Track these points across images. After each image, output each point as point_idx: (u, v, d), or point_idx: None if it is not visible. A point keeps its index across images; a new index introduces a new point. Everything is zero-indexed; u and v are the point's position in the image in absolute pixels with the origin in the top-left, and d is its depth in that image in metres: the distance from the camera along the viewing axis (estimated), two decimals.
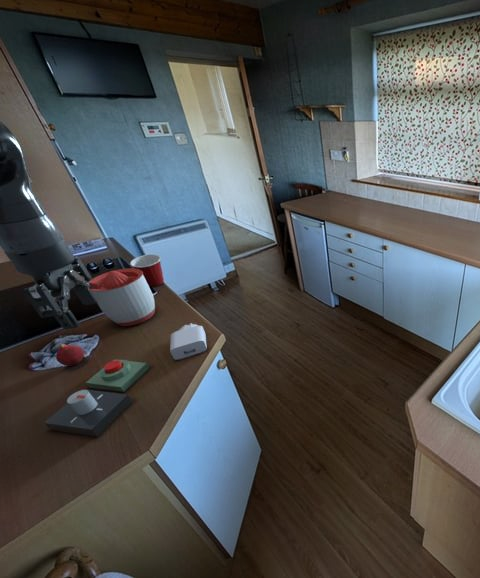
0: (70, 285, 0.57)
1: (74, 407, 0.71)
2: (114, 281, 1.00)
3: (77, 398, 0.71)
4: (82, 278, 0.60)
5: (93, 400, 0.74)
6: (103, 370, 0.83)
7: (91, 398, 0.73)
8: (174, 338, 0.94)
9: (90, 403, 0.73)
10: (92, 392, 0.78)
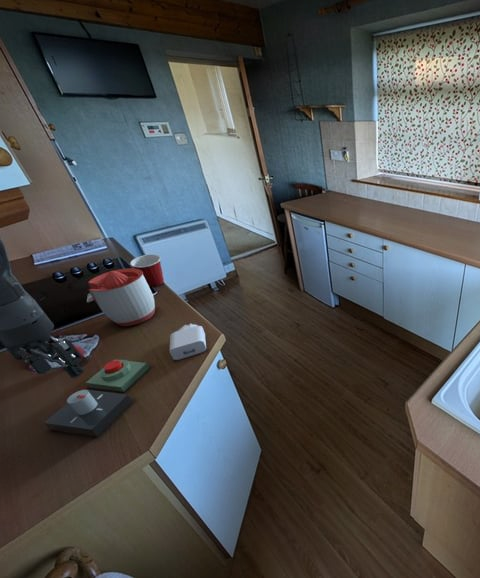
0: None
1: (74, 407, 0.71)
2: (114, 281, 1.00)
3: (77, 398, 0.71)
4: None
5: (93, 400, 0.74)
6: (103, 370, 0.83)
7: (91, 398, 0.73)
8: (173, 338, 0.94)
9: (90, 403, 0.73)
10: (92, 392, 0.78)
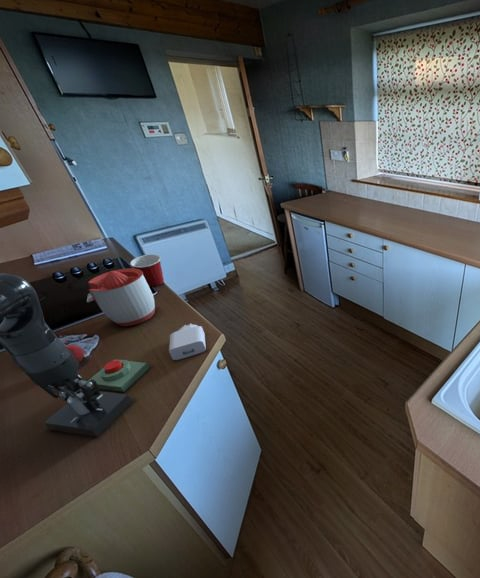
0: None
1: (74, 407, 0.71)
2: (114, 281, 1.00)
3: None
4: None
5: None
6: (103, 370, 0.83)
7: None
8: (173, 338, 0.94)
9: None
10: None
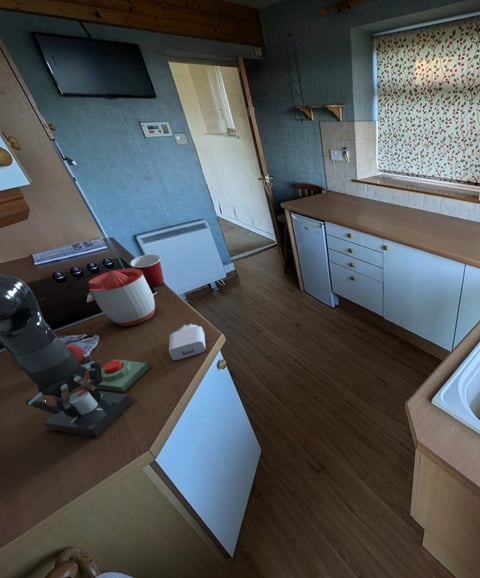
0: None
1: (88, 401, 0.72)
2: (114, 281, 1.00)
3: (81, 395, 0.72)
4: None
5: None
6: (103, 370, 0.83)
7: None
8: (173, 338, 0.94)
9: None
10: None
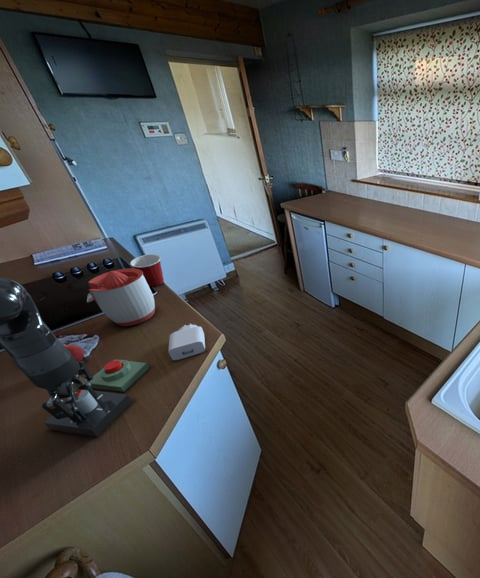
0: None
1: (91, 396, 0.73)
2: (114, 281, 1.00)
3: (81, 394, 0.72)
4: None
5: None
6: (103, 370, 0.83)
7: None
8: (172, 338, 0.94)
9: None
10: None
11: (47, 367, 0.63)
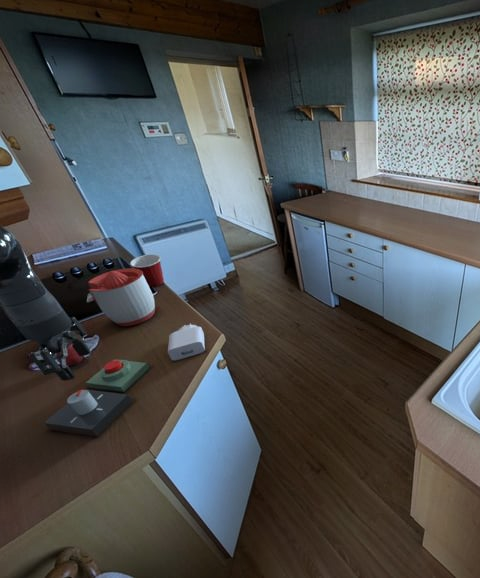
0: None
1: (91, 396, 0.73)
2: (114, 281, 1.00)
3: (81, 394, 0.72)
4: None
5: None
6: (103, 370, 0.83)
7: None
8: (172, 339, 0.94)
9: None
10: (92, 392, 0.78)
11: (37, 318, 0.62)
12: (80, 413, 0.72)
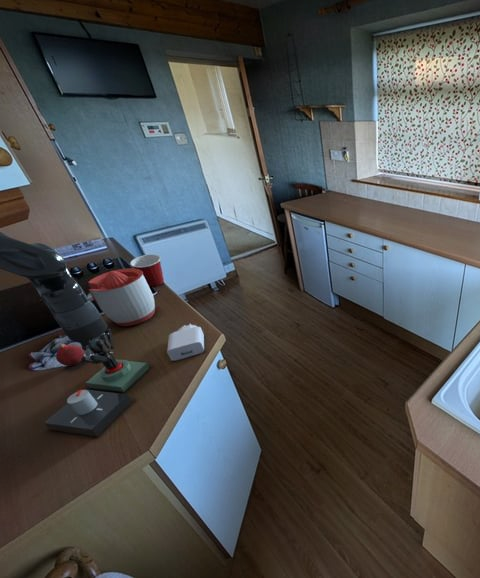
0: None
1: (91, 396, 0.73)
2: (114, 281, 1.00)
3: (81, 394, 0.72)
4: None
5: None
6: (103, 370, 0.83)
7: None
8: (172, 339, 0.94)
9: None
10: (92, 392, 0.78)
11: (81, 322, 0.72)
12: (80, 413, 0.72)
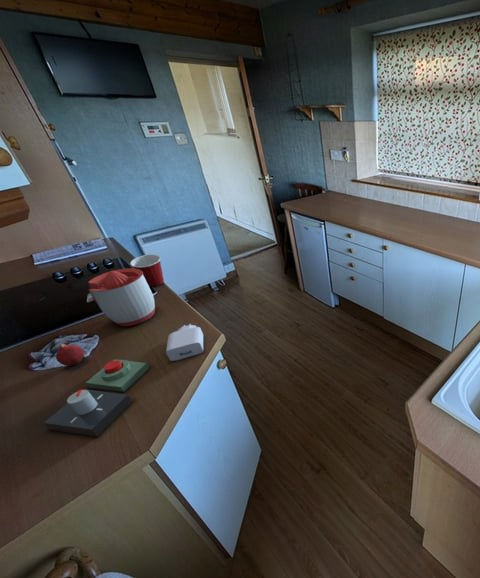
0: None
1: (91, 396, 0.73)
2: (114, 281, 1.00)
3: (81, 394, 0.72)
4: None
5: None
6: (103, 370, 0.83)
7: None
8: (171, 339, 0.94)
9: None
10: (92, 392, 0.78)
11: None
12: (80, 413, 0.72)
